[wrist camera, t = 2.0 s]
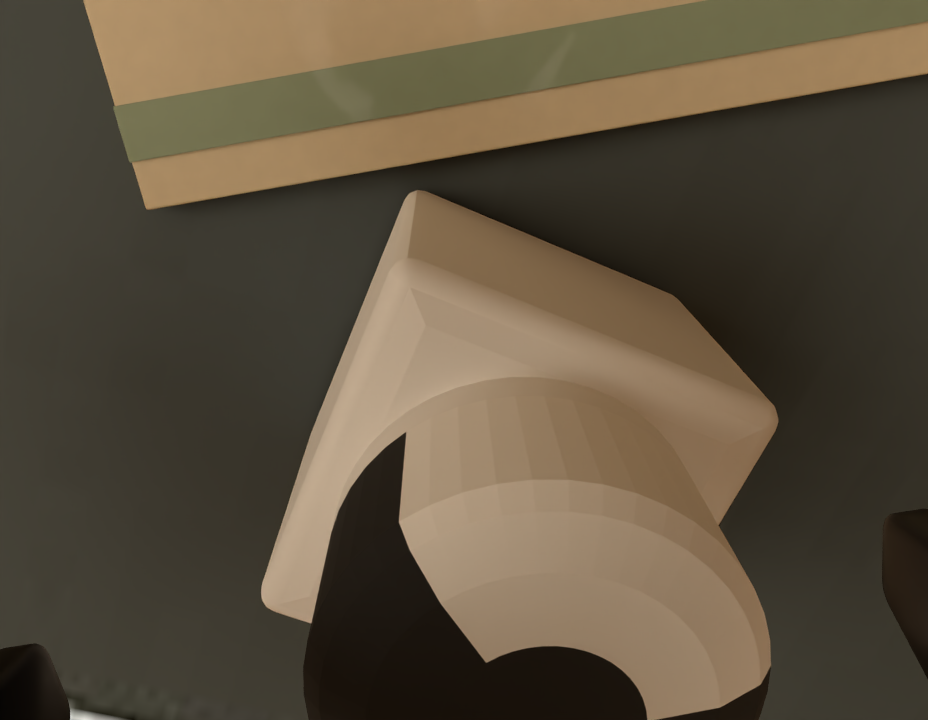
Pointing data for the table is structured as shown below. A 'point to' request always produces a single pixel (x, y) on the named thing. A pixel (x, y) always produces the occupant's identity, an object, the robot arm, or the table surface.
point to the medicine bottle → (523, 495)
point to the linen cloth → (454, 76)
